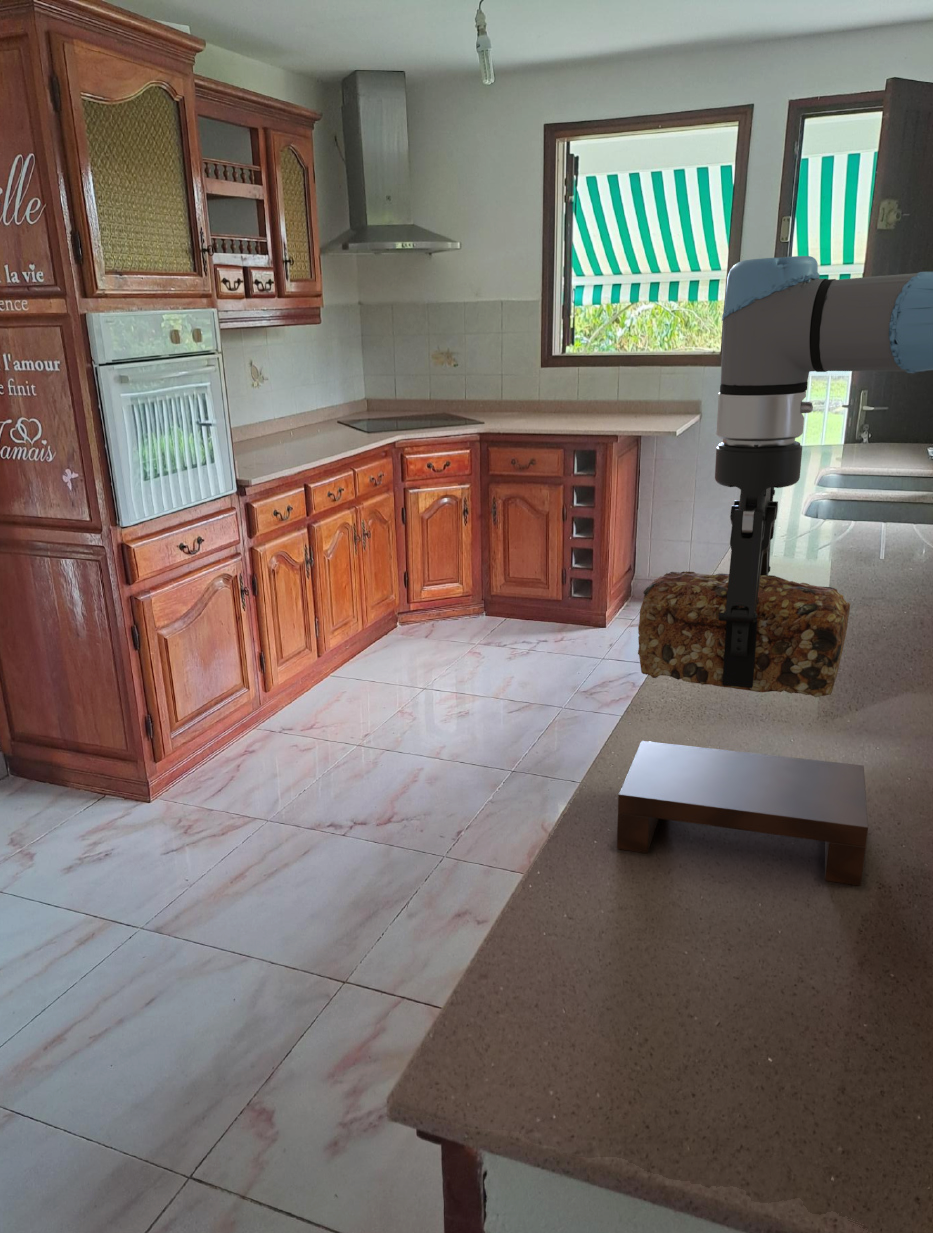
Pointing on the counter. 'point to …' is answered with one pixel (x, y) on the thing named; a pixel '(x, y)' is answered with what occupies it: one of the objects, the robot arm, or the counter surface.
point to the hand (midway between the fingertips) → (743, 665)
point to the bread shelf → (748, 799)
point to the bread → (785, 643)
